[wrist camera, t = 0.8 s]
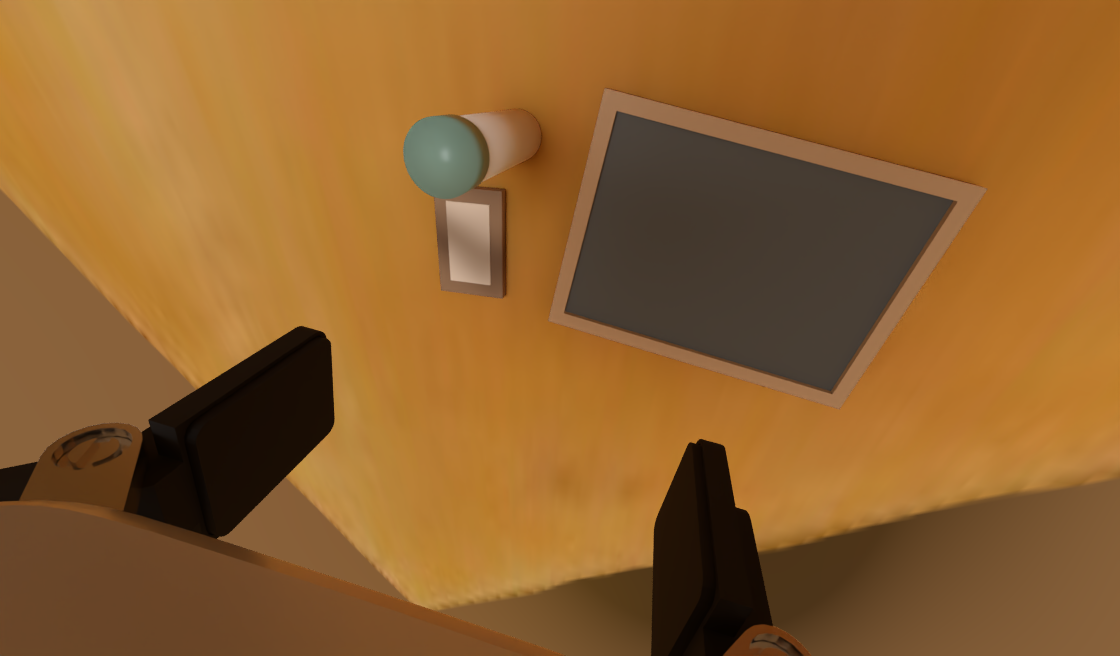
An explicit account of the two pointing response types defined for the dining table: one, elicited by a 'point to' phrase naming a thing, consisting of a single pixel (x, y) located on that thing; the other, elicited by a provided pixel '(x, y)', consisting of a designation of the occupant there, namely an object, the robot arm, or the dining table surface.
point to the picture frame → (472, 242)
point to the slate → (748, 247)
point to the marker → (468, 149)
